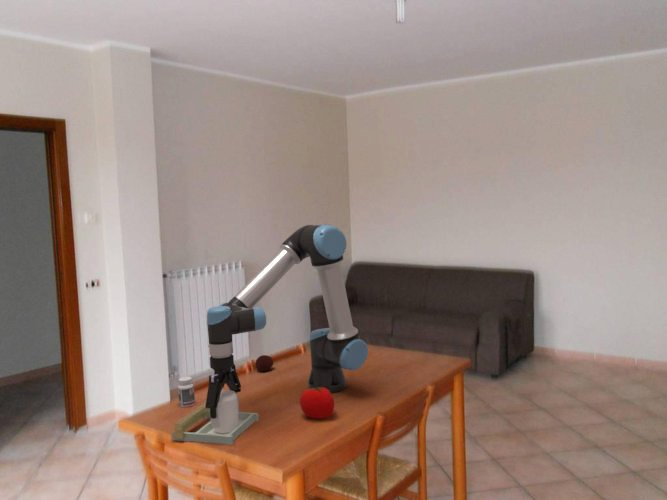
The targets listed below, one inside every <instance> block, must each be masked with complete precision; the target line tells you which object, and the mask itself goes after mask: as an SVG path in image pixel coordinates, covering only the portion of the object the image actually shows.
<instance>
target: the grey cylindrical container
mask: <svg viewBox="0 0 667 500" xmlns="http://www.w3.org/2000/svg"><path fill="white" fill-rule="evenodd" d="M217 407H219V417H220V428H214V431H215V432H218V433H230V432H231V431H233V430H234V429H235V428H236V427H237V426H238V425H239V420H238V405H237V395H236V394H235V391H232V390H230V389H224V390H223V389H222V390H221V394H220V398H219V402H218V405H217Z"/></svg>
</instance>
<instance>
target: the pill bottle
mask: <svg viewBox="0 0 667 500" xmlns="http://www.w3.org/2000/svg"><path fill="white" fill-rule="evenodd" d="M192 379H193V378H192V377H191V376H182V377H179V378H178V383H179V384H178V386H177V394H178V405H179V407H180V408H190V407H192V406H194V405H195V404H196V399H195V385H194V384H193V382H192V381H193V380H192Z"/></svg>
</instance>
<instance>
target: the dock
mask: <svg viewBox="0 0 667 500" xmlns="http://www.w3.org/2000/svg"><path fill="white" fill-rule="evenodd" d="M202 419H211V417H210V413H209V414H207V415H206V416H205V417H203V418H202ZM238 420H239V425H238V426H237V427H236V428H235V429H234V430H233V431H231V432H230V433H218V432H215V431H214V428H211V420H209V421H208V422H207V423H206V424H205V425H203V426H202V427H200V429H198V430H197V431H196V432H189V431H185V432H184V435H185V438H184V439H179V438H172V432H173V431H174V430H173V431H171V432H170V435H171V436H170V438H171V441H178V442H180V441H181V442H190V441H193V442H192V443H194V441H195V443H202V442H204V443H205V444H214V445H215V444H216V445H217V444H218V445H228V446H229V445H230V446H232V445H234V443H235V442H234V441H235V440H237V438H238V437H240V436H241V435H242V434H243V433H244V431H246V430H247V429H249V427H250V426H252V425H253V424H254V423H255V422H259V412H247V411H246V412H244V411H239V412H238Z"/></svg>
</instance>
